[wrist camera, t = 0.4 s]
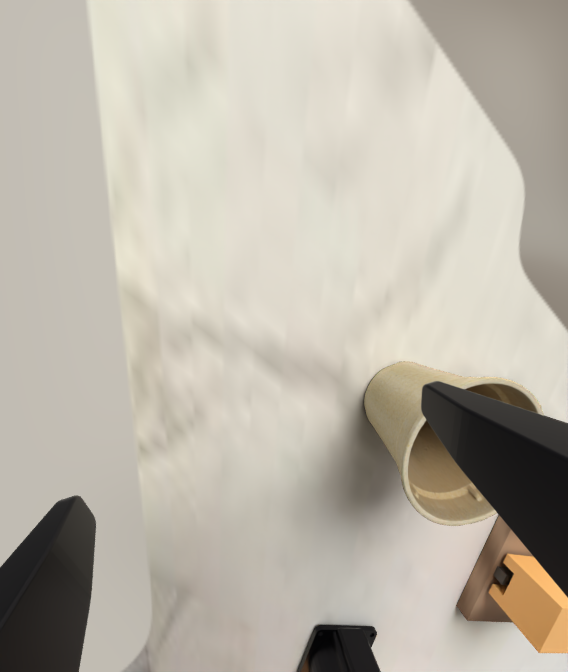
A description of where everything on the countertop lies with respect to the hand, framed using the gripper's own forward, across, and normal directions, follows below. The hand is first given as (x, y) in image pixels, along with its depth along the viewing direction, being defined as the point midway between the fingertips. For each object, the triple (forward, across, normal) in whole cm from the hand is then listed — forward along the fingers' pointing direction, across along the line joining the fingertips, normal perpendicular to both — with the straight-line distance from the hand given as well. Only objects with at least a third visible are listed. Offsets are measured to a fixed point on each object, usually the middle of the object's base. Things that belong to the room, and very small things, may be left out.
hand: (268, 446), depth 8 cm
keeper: (+6, -21, +33) cm, 39 cm away
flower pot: (+13, -12, +12) cm, 21 cm away
